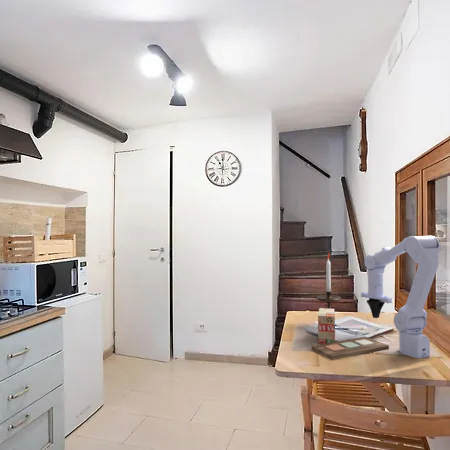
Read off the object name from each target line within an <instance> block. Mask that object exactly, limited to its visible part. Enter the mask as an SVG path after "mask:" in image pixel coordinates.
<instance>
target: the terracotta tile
mask: <svg viewBox="0 0 450 450" xmlns="http://www.w3.org/2000/svg"><path fill="white" fill-rule="evenodd" d="M325 348H326V349H328V350H331V351H333V352H337V351H342V350H345V348H343V347H341V346H339V345H336V344H335V345H329V346H325Z"/></svg>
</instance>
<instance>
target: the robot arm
mask: <svg viewBox="0 0 450 450" xmlns="http://www.w3.org/2000/svg"><path fill="white" fill-rule="evenodd" d="M441 248H442V245H441V243H440V241H439V239H438V237H436V236H435V235H422V236H421V235H420V236H417V235H416V236H415V235H410V236H407V237H405V238H403V239H402V241H400V242H399V243H397V244H396V245H394V246H393V247H388V246H387V247H385V246H384V247H382V248H381V250H379V251H376V252H375V253H374V254H373V255H372V254H368V255H367V256H365V257H364V266H365V268H367V291H366V292H365V291H362V292H360V297H361V298H365V299H367V300H366V303H367V305H368V307H369V309H370V312H371V315H372V318H373V319H379V318H380V314H381V311H382V308H383V307H384V305H385V304H392V303H393V302H392V301H393V298H391V297H388V296H386V295H384V273H385V268H386V266H387V265H389V264H391V263H393V262H395V261H396V260H397V257H398V256H401V255H403V254H405V253H407V254H408V255H409V256H410V258H411V259H412V260H413V261H414V263H416V264H417V265H418V266H417V269H416V272H415V275H414V278H413V281H412V284H411V285H412V286H410V287H411V288H410V292H409V293H408V297H407V300H406V303H405V304H404V305H403V306H402V307H400V308H398V311H397V313H396V314H395V315H394V318H393V324H394V327H395V328H396V329H397V331H398V332H399V333H398V342H399V344H398V345H399V349H398V350H399V351H398V352H399V353H400V354H403V355H406V356H410V357H412V358H414V359H417V360H418V359H419V360H420V359H423V358H427V357H428V358H429V357H430V356H431V349H430V347H431V346H430V344H431V341H430V339H429V337H428V336H427V335H425V334H423V332H424V329H425V328H427V323H428V321H427V318H428V312H427V311H426V310H425V309H424V308H425V305H426V302H427V299H428V296H429V293H430V290H431V288H432V284H433V282H434V279H435V276H436V273H437V270H438V267H439V255H440V251H441Z"/></svg>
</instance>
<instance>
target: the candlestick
mask: <svg viewBox="0 0 450 450" xmlns="http://www.w3.org/2000/svg"><path fill="white" fill-rule="evenodd" d="M326 258H327V261H326V268H325V269H326V270H325V271H326V273H325V275H326V279H325V280H326V282H325V283H326V290H324V293H325V292H326V294H319V295H316V300H317V301H320V302H325V303H327V308H326V309H331V303H334V302H335V303H336V302H340V301H342V297H341V296H339V295H335V294H332V293H333V292H334V291H333V290H332V286H331V285H332V283H331V282H332V279H331V277H332V276H331V275H332V274H331V272H332V271H331V268H332V267H331V266H332V265H331V261H330V253H328V254H327V257H326ZM336 325H337V324H336ZM337 326H339V325H337Z"/></svg>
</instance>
